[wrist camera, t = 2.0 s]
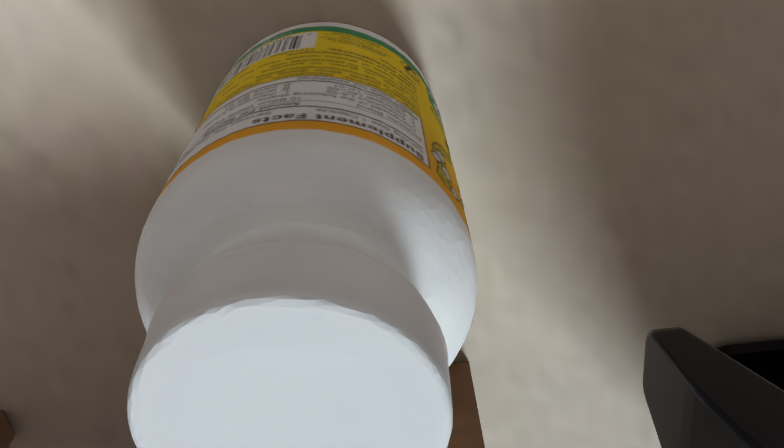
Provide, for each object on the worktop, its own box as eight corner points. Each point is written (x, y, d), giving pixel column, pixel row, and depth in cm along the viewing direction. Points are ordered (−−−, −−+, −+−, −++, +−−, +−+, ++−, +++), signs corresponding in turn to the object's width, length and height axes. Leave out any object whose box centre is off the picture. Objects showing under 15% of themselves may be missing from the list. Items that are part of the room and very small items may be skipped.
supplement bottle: (247, -18, 15) (101, 170, 7) (476, 63, 16) (591, 313, 8) (194, 193, 18) (37, 523, 9) (396, 253, 19) (418, 598, 10)
